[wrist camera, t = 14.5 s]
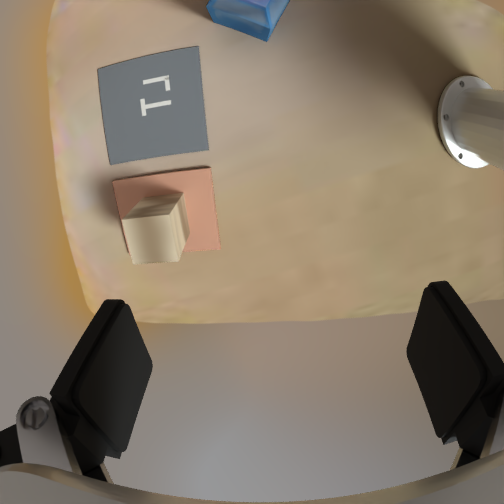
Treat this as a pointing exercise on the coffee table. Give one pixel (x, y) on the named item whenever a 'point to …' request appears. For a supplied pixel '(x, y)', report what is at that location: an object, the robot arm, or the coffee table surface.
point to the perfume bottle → (248, 15)
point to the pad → (196, 199)
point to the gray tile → (153, 106)
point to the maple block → (157, 229)
